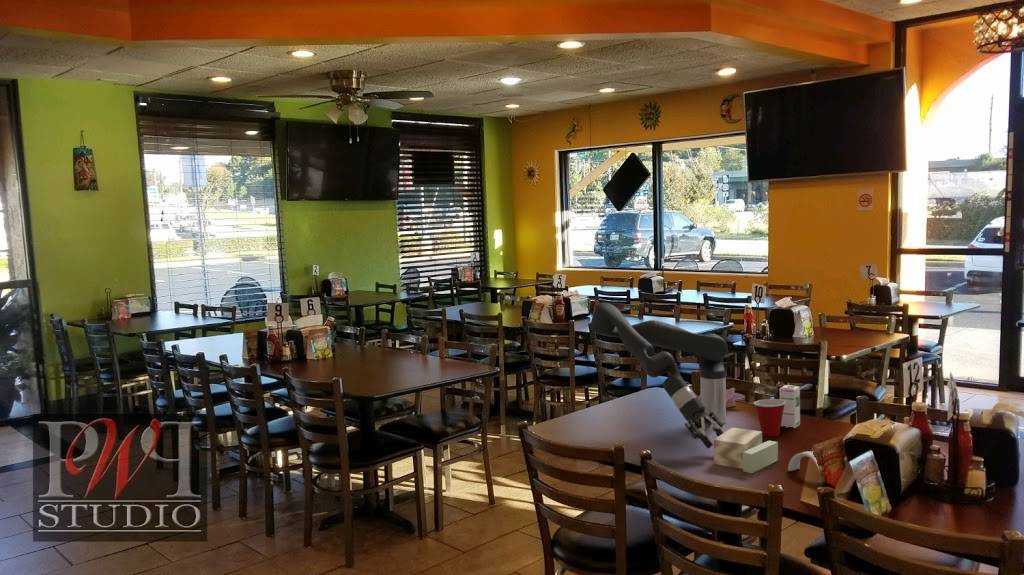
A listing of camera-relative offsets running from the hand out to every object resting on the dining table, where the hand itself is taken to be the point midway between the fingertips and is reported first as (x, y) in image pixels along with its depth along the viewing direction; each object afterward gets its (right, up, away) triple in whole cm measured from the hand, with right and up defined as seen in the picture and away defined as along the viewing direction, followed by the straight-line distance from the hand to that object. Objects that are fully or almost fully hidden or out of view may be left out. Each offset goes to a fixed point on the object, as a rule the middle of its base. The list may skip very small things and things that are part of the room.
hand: (717, 443), depth 248 cm
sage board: (+11, -5, -10) cm, 15 cm away
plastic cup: (+25, -2, +23) cm, 34 cm away
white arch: (+25, -6, -24) cm, 35 cm away
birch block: (+6, -5, -3) cm, 8 cm away
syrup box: (+35, 0, +34) cm, 49 cm away
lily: (+20, +2, +62) cm, 65 cm away
